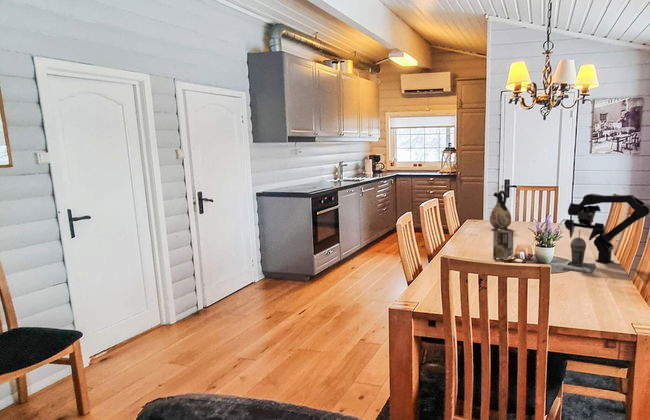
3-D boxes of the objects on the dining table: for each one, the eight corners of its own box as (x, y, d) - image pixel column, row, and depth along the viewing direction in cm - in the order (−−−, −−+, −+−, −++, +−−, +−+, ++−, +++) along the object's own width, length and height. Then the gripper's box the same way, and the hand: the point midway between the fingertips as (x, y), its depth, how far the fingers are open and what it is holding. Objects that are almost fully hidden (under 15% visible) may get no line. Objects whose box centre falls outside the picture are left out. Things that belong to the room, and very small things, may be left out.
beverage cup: (583, 265, 235) (585, 228, 232) (587, 269, 228) (589, 230, 225) (567, 264, 237) (569, 227, 234) (571, 268, 230) (573, 230, 227)
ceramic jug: (485, 228, 344) (485, 189, 340) (501, 226, 349) (502, 188, 344) (499, 232, 328) (500, 191, 324) (517, 230, 333) (518, 190, 328)
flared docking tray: (595, 266, 234) (596, 263, 233) (590, 273, 222) (590, 269, 222) (568, 263, 242) (568, 259, 241) (562, 269, 230) (562, 266, 230)
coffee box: (513, 259, 253) (514, 231, 251) (507, 261, 249) (508, 233, 247) (498, 256, 260) (498, 229, 258) (492, 258, 256) (493, 231, 254)
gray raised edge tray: (596, 266, 233) (596, 266, 233) (591, 273, 222) (591, 272, 222) (568, 263, 241) (568, 262, 241) (562, 269, 231) (562, 268, 231)
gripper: (566, 204, 246) (558, 227, 240) (605, 208, 233) (597, 232, 227) (570, 216, 253) (562, 239, 247) (608, 221, 239) (600, 245, 234)
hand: (579, 238), depth 238 cm, fingers open, 9 cm apart
